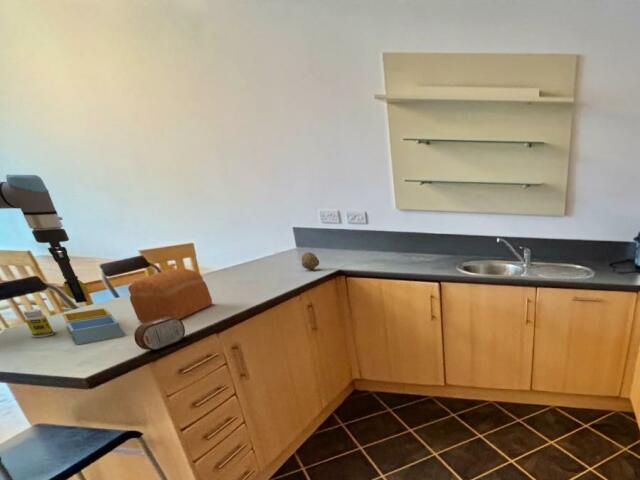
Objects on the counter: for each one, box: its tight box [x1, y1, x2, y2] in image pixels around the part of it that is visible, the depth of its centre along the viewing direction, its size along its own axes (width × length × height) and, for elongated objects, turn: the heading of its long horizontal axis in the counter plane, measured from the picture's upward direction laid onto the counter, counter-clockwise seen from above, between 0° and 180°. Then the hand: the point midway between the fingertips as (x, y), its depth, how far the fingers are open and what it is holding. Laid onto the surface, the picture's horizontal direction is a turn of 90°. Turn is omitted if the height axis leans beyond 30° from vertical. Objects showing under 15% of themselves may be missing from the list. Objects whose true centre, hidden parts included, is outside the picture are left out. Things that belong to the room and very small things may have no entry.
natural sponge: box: [301, 251, 320, 271], centre depth 236 cm, size 9×9×10 cm
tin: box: [133, 317, 186, 351], centre depth 130 cm, size 15×3×8 cm, turn 171°
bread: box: [127, 268, 213, 323], centre depth 159 cm, size 14×26×16 cm, turn 3°
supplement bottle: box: [22, 308, 54, 338], centre depth 136 cm, size 5×5×8 cm
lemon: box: [62, 278, 89, 300], centre depth 140 cm, size 6×6×8 cm
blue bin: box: [66, 315, 125, 345], centre depth 137 cm, size 11×11×5 cm
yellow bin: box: [61, 307, 113, 324], centre depth 145 cm, size 11×11×5 cm
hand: (80, 300), depth 142 cm, fingers closed on lemon, 5 cm apart
